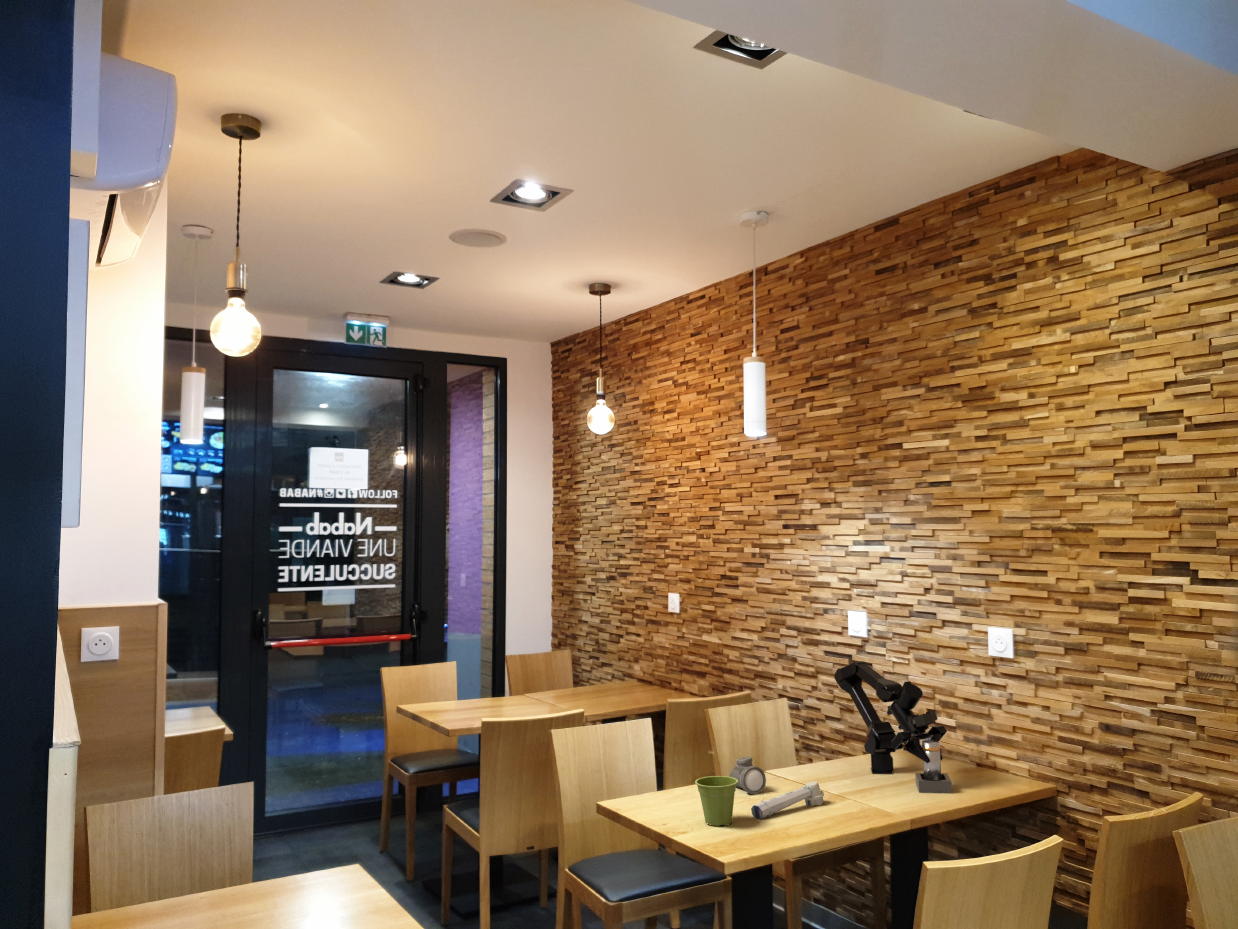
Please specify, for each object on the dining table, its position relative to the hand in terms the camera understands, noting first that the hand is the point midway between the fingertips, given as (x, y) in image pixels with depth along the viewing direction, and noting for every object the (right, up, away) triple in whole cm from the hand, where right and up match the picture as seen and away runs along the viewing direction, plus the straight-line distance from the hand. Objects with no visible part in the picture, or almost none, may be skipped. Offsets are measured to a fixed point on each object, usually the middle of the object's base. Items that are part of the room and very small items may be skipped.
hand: (935, 761), depth 277 cm
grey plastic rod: (-47, -9, -16) cm, 50 cm away
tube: (0, -7, +1) cm, 7 cm away
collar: (0, -9, 0) cm, 8 cm away
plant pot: (-68, -9, -25) cm, 73 cm away
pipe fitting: (-56, -12, +7) cm, 58 cm away
